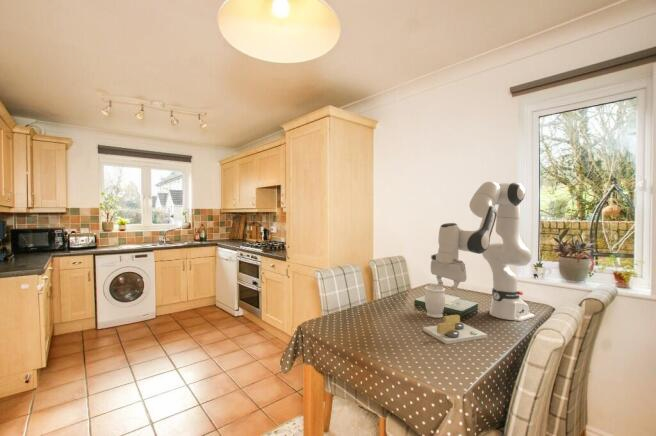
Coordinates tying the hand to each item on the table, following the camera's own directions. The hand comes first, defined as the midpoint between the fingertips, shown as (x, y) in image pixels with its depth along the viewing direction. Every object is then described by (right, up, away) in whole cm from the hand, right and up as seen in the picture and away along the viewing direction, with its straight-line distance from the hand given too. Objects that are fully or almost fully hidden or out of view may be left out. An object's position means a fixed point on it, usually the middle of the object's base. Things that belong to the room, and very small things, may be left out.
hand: (447, 287), depth 141 cm
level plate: (+2, -21, -2) cm, 21 cm away
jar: (+2, -21, +23) cm, 31 cm away
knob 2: (-3, -19, -8) cm, 21 cm away
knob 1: (+3, -19, +1) cm, 19 cm away
